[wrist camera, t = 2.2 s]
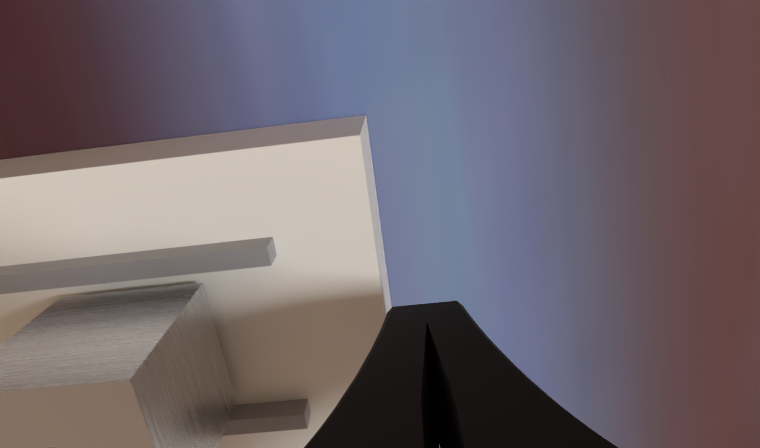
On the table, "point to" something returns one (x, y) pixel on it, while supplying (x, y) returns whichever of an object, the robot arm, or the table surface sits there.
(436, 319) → the robot arm
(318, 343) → the control panel
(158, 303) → the slider knob
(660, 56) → the table surface
